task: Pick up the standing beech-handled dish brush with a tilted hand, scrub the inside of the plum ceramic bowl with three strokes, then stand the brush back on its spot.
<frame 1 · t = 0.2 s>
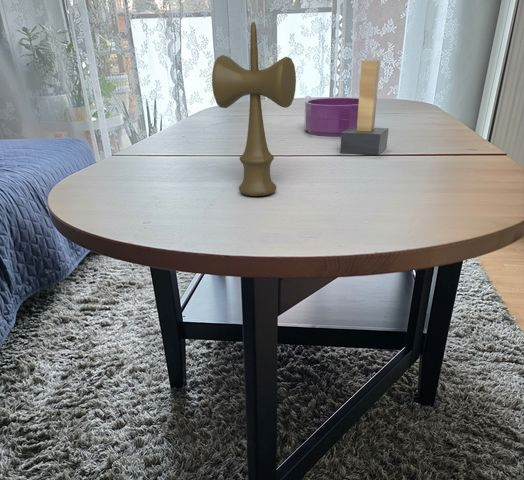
bowl: (336, 131, 112), on the table
kendama: (257, 195, 70), on the table
brush: (363, 150, 94), on the table
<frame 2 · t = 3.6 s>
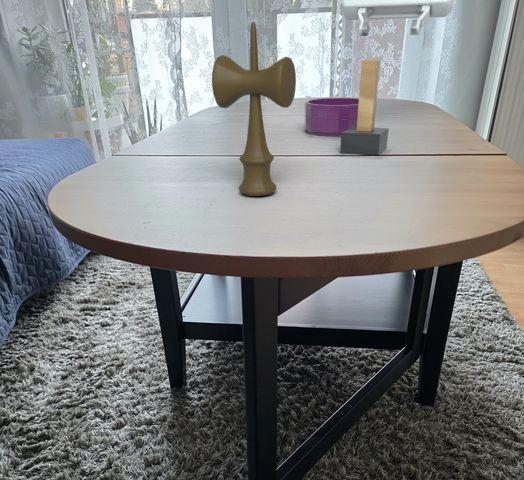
hand: (388, 32, 93), 18 cm above the table, tool tilted 45°, fingers open, 8 cm apart
nothing on the table moved.
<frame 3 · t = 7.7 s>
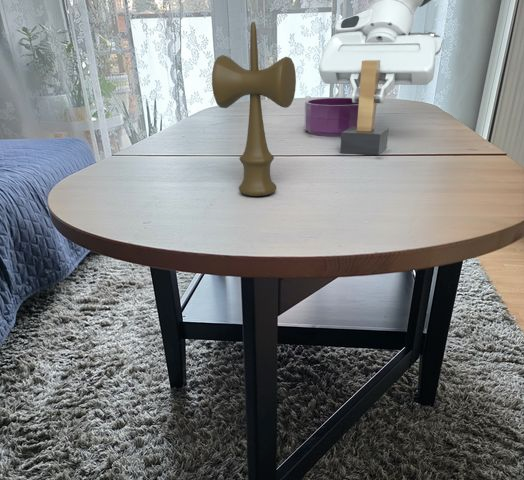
hand: (366, 100, 89), 8 cm above the table, tool tilted 45°, fingers closed on brush, 2 cm apart
brush: (363, 150, 94), on the table, touching gripper
everything else where it was.
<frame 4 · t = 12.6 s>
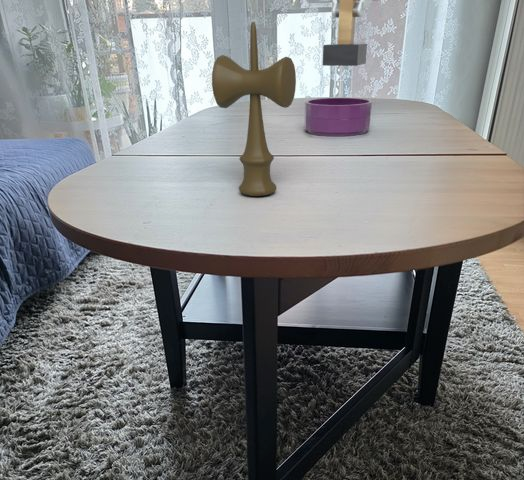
hand: (346, 14, 97), 21 cm above the table, tool tilted 45°, fingers closed on brush, 2 cm apart
brush: (344, 64, 102), point 13 cm above the table, touching gripper
everything else where it was.
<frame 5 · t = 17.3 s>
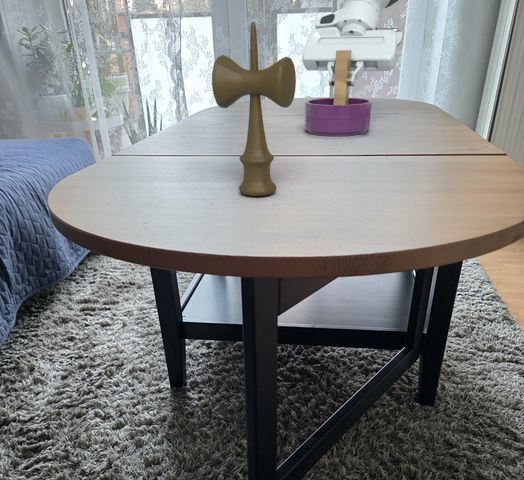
hand: (341, 83, 107), 9 cm above the table, tool tilted 45°, fingers closed on brush, 2 cm apart
bowl: (336, 131, 112), on the table, touching brush
brush: (339, 126, 112), point 1 cm above the table, touching bowl, gripper
everything else where it was.
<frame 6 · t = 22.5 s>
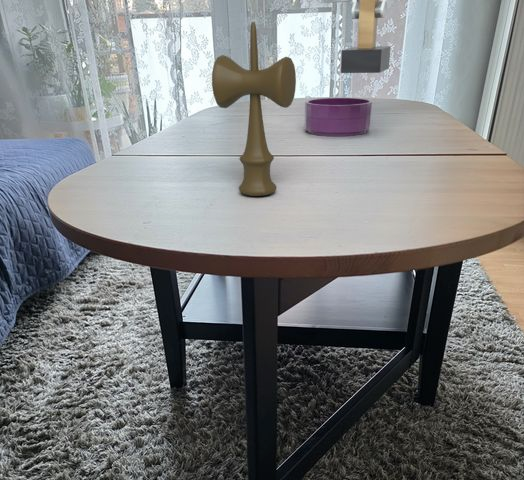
hand: (367, 15, 86), 21 cm above the table, tool tilted 45°, fingers closed on brush, 2 cm apart
bowl: (336, 131, 112), on the table
brush: (365, 70, 91), point 13 cm above the table, touching gripper
everything else where it was.
when the fingers open (8 cm above the table, at t = 26.8 s): brush stays where it is, on the table.
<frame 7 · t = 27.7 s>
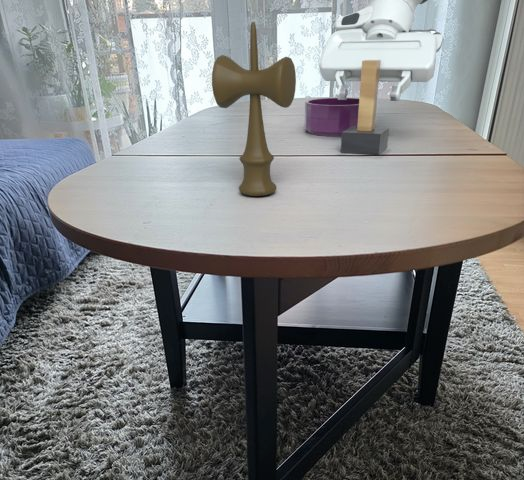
hand: (367, 98, 89), 9 cm above the table, tool tilted 45°, fingers open, 8 cm apart
brush: (364, 150, 94), on the table
everything else where it was.
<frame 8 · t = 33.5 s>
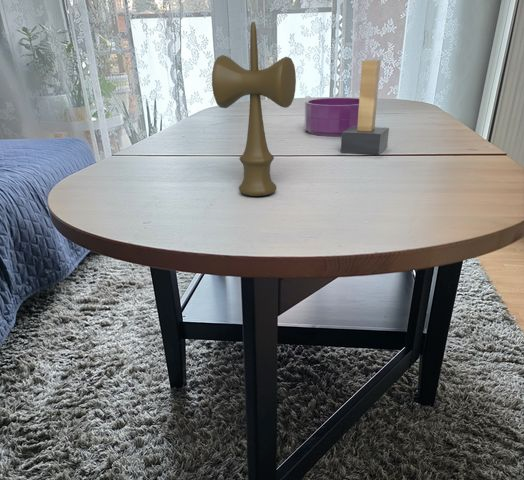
nothing on the table moved.
at the end: brush inside the target area (0.4 cm from its centre), on the table; brush tilted 0°; bowl moved 0.0 cm from its start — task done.
